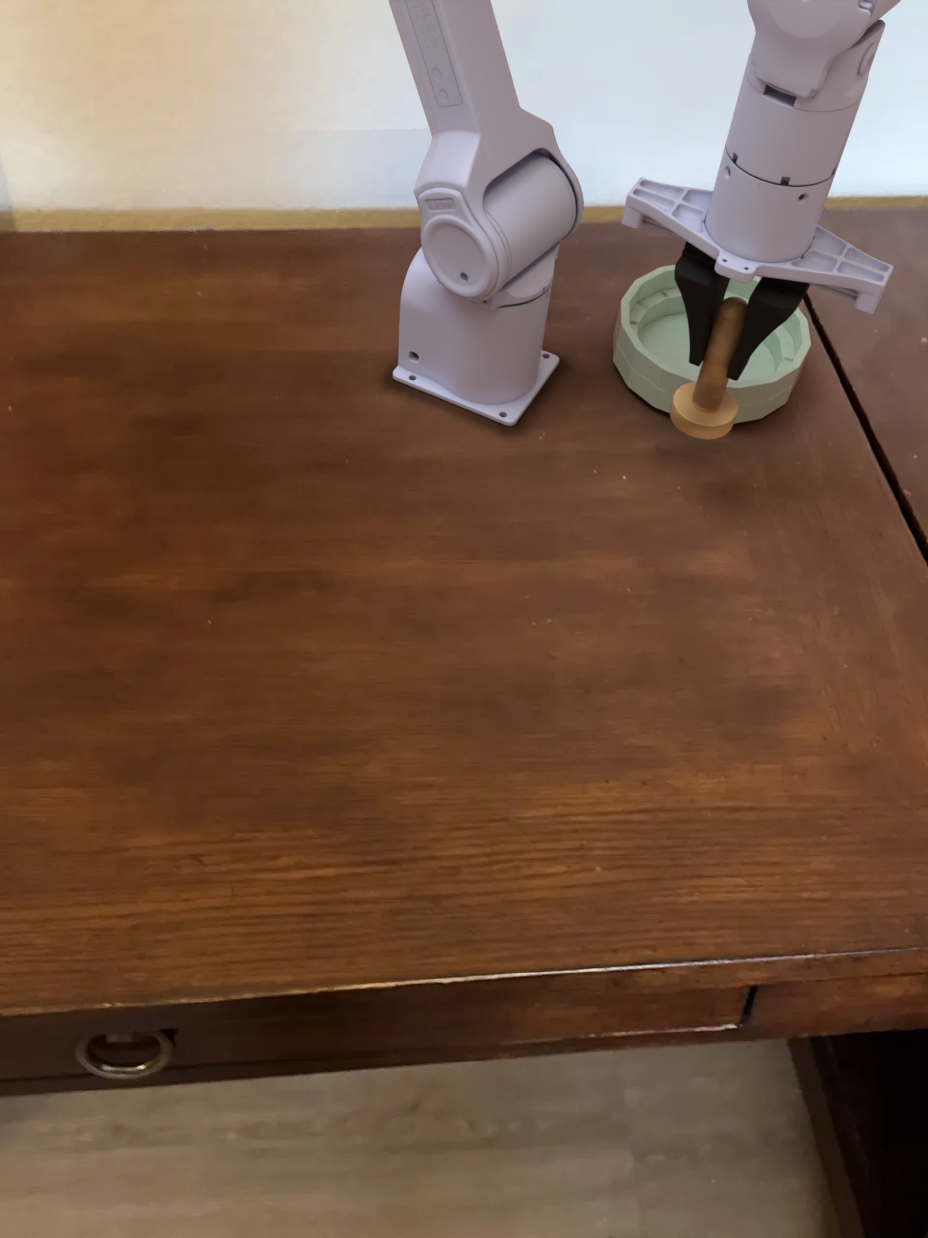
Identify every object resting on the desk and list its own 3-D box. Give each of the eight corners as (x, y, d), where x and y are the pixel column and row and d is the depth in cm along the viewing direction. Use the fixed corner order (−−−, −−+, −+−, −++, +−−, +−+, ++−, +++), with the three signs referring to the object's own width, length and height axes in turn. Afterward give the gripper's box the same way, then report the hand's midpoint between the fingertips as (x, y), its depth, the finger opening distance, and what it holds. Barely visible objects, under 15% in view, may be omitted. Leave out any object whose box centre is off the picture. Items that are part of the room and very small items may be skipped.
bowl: (582, 386, 85) (591, 341, 82) (651, 285, 93) (662, 241, 89) (759, 456, 82) (775, 412, 79) (816, 346, 90) (833, 302, 86)
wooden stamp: (659, 424, 75) (691, 306, 68) (683, 386, 77) (716, 268, 70) (720, 448, 74) (759, 331, 67) (742, 410, 76) (782, 292, 69)
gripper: (618, 145, 61) (579, 356, 71) (899, 242, 57) (813, 448, 68) (670, 83, 64) (625, 292, 75) (936, 171, 61) (849, 376, 72)
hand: (717, 362), depth 72 cm, fingers closed on wooden stamp, 2 cm apart
